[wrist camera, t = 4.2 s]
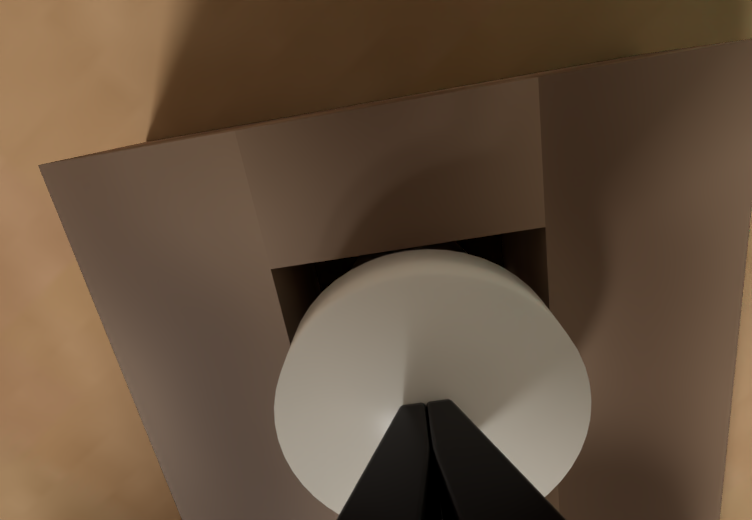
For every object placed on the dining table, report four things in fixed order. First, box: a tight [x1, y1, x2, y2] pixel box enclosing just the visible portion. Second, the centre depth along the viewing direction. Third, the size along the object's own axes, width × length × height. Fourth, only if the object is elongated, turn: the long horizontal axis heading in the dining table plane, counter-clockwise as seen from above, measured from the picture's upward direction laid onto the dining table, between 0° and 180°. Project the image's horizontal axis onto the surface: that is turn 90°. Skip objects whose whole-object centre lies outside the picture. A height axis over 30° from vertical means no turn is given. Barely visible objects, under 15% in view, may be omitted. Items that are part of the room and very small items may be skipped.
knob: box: [274, 241, 591, 514], centre depth 10 cm, size 5×5×5 cm
